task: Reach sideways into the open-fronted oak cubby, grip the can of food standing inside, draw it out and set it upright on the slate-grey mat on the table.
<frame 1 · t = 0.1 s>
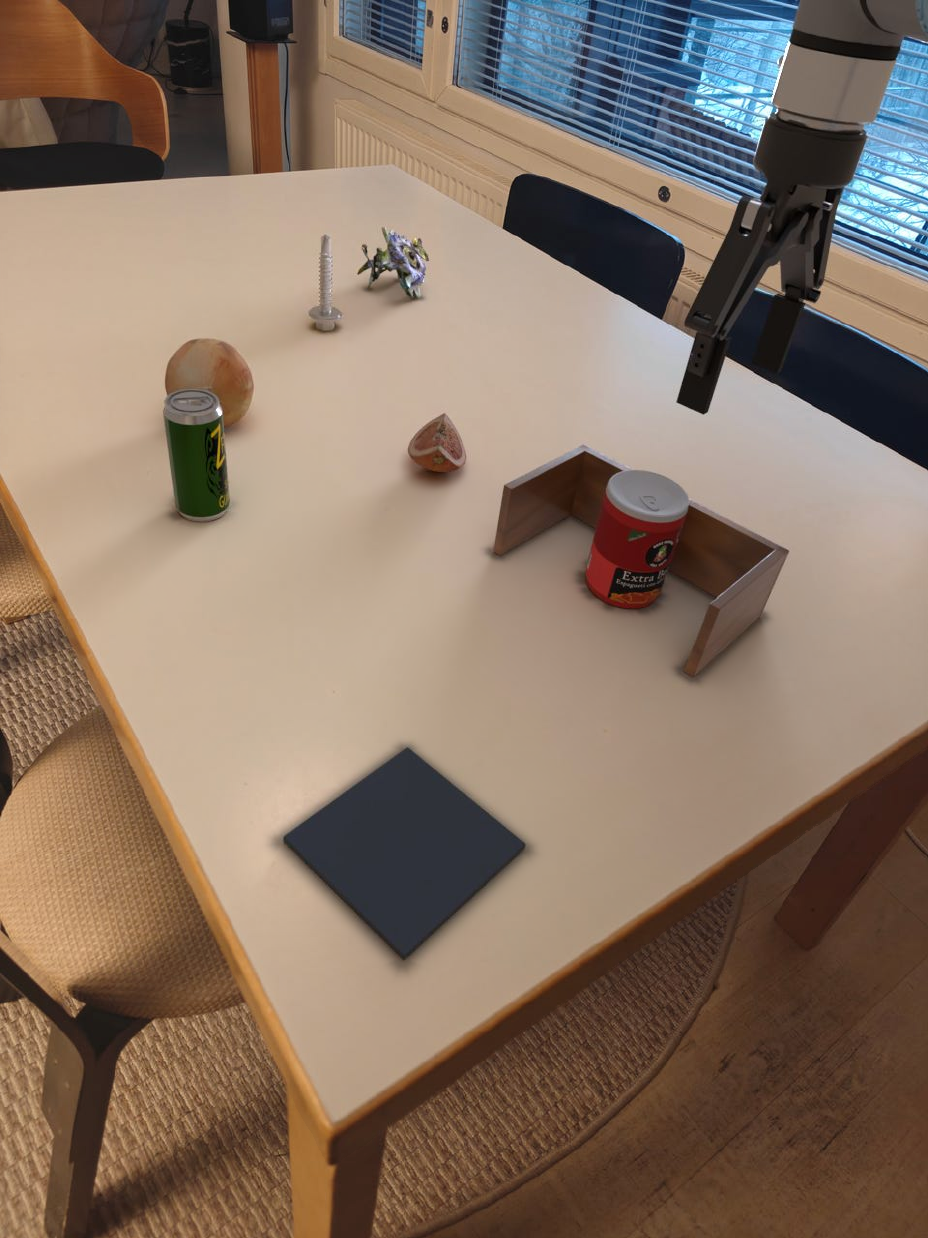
hand: (730, 386, 77), 20 cm above the table, tool pointing down, fingers open, 13 cm apart
fruit slice: (435, 469, 99), on the table
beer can: (203, 509, 88), on the table
screw: (325, 328, 125), on the table
mat: (405, 845, 60), on the table
onion: (213, 424, 101), on the table
cubby: (621, 585, 86), on the table
canned food: (621, 586, 86), on the table
passion flower: (391, 293, 138), on the table
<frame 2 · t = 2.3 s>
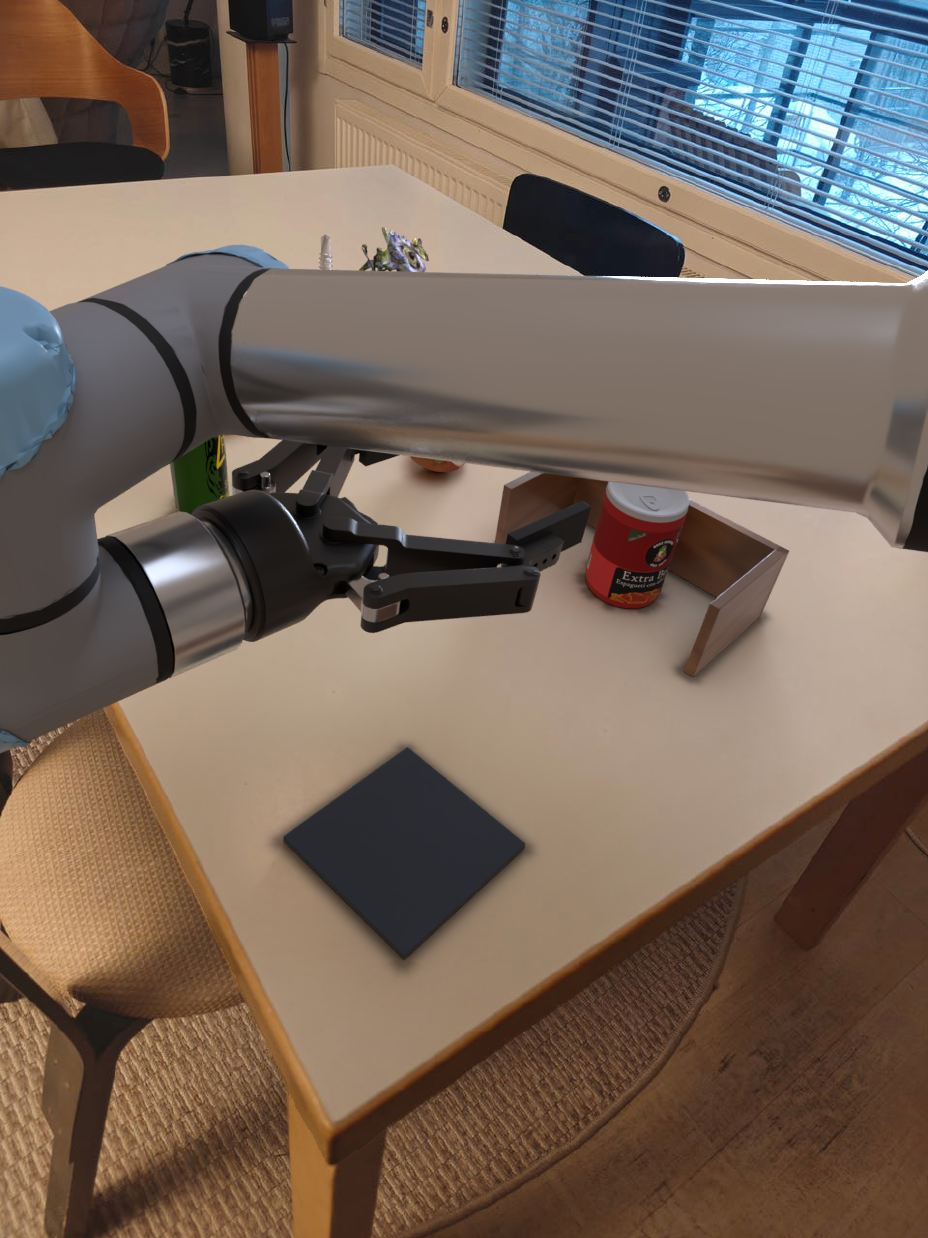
hand: (506, 469, 56), 23 cm above the table, tool horizontal, fingers open, 13 cm apart
nothing on the table moved.
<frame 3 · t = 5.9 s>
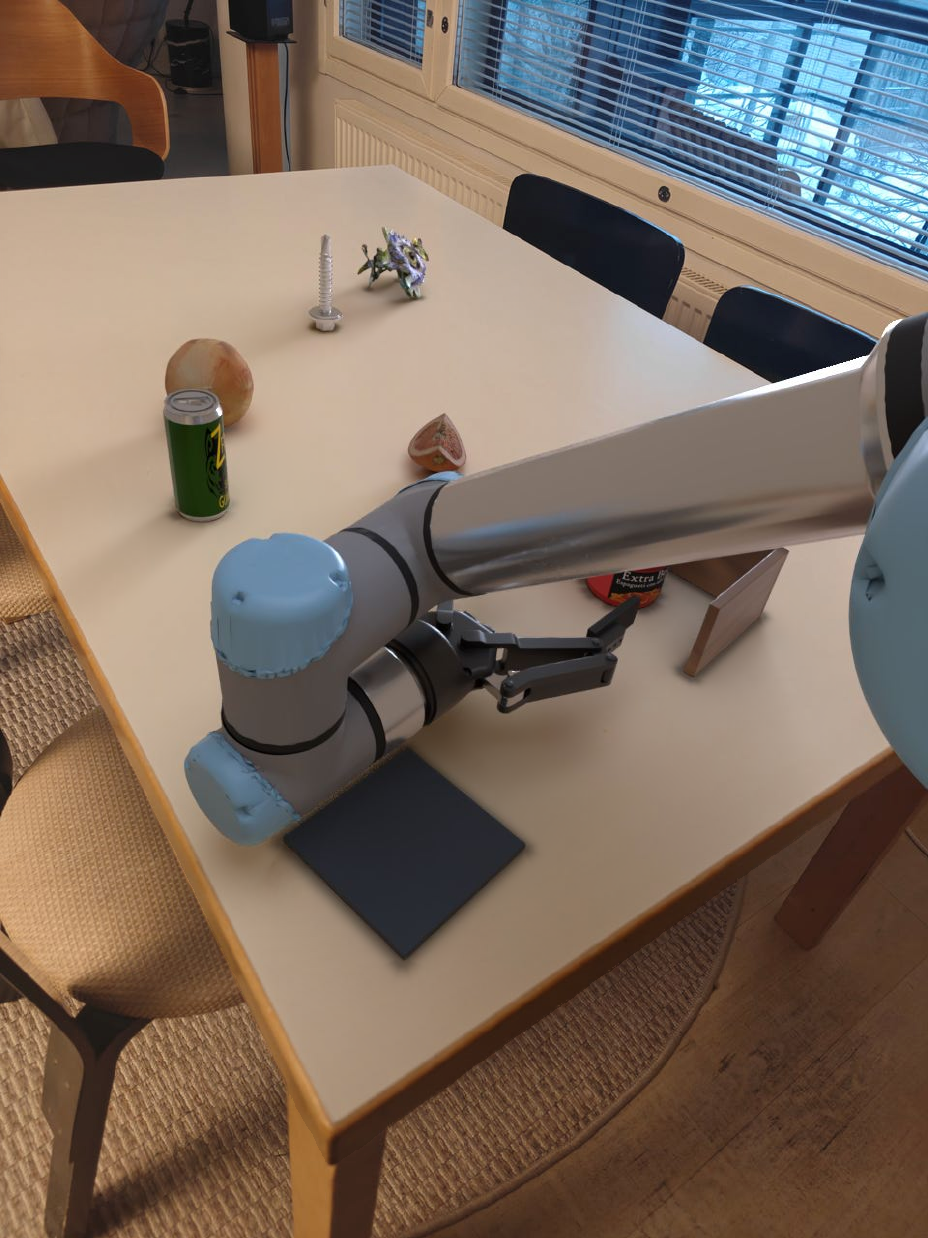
hand: (569, 569, 75), 7 cm above the table, tool horizontal, fingers open, 13 cm apart
nothing on the table moved.
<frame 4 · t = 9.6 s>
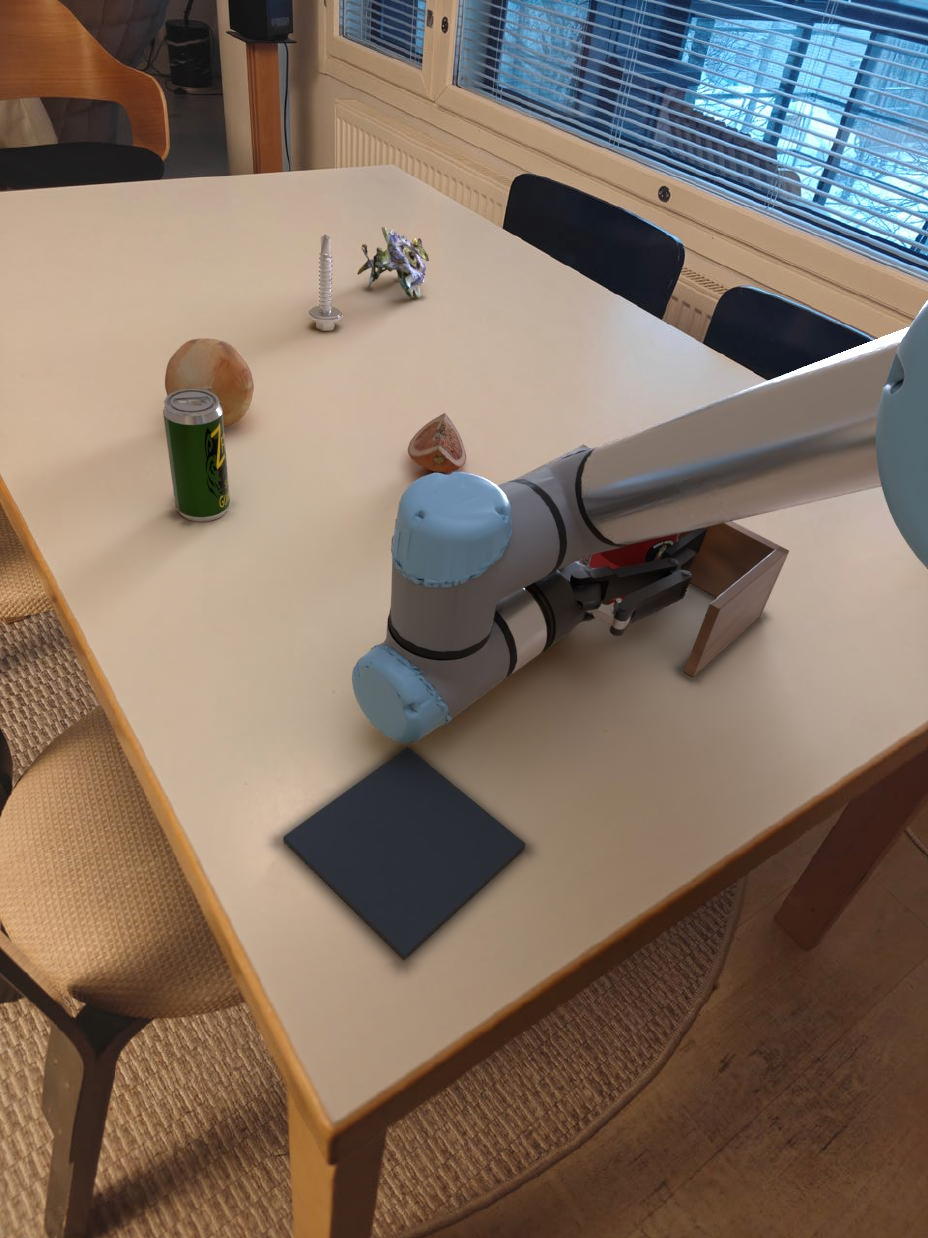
hand: (662, 518, 85), 6 cm above the table, tool horizontal, fingers closed on canned food, 8 cm apart
canned food: (621, 586, 86), on the table, touching gripper
everything else where it was.
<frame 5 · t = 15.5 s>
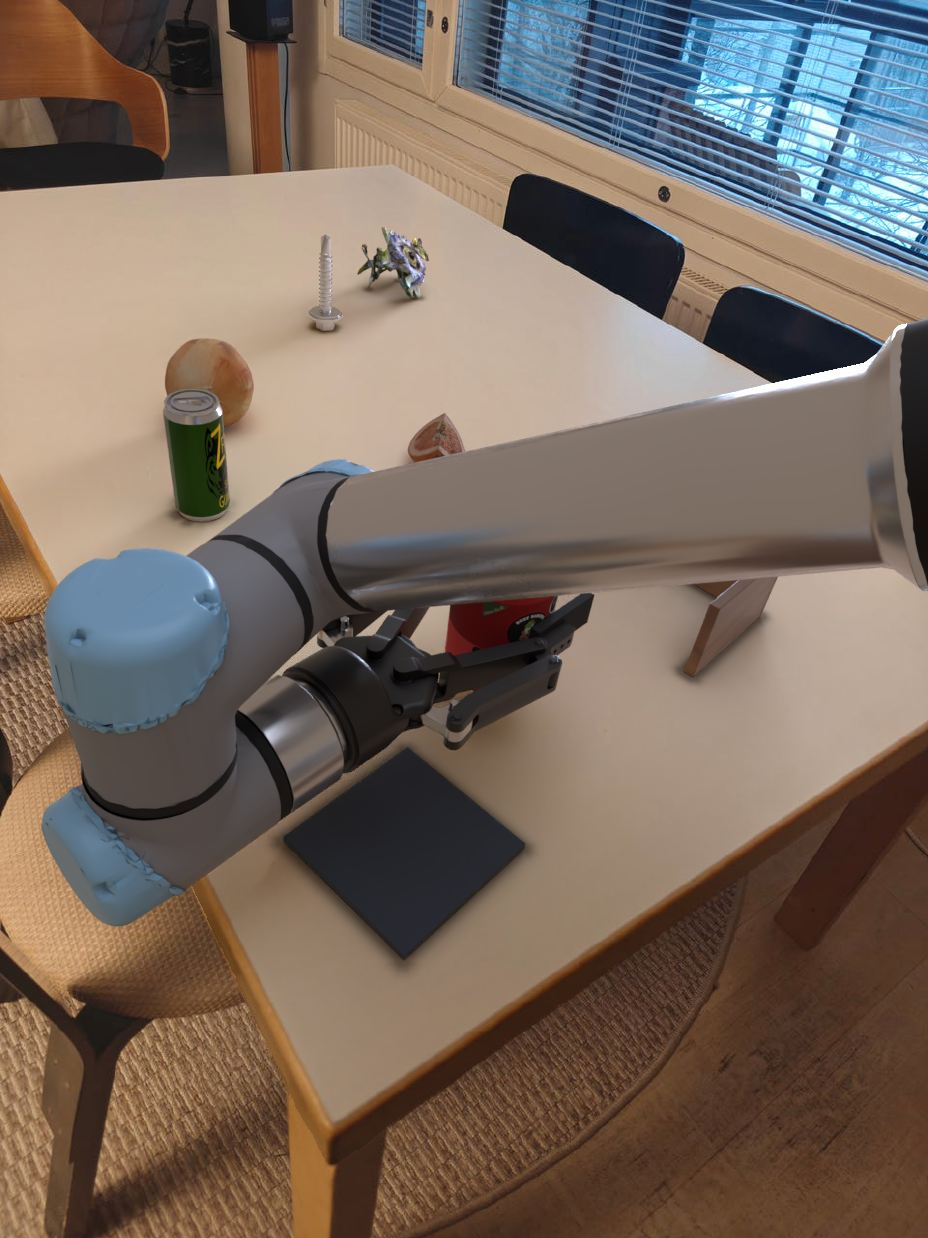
hand: (542, 578, 66), 11 cm above the table, tool horizontal, fingers closed on canned food, 8 cm apart
canned food: (491, 664, 67), point 5 cm above the table, touching gripper
everything else where it was.
when the fingers open (7 cm above the table, at t = 21.7 s): canned food stays where it is, resting on mat.
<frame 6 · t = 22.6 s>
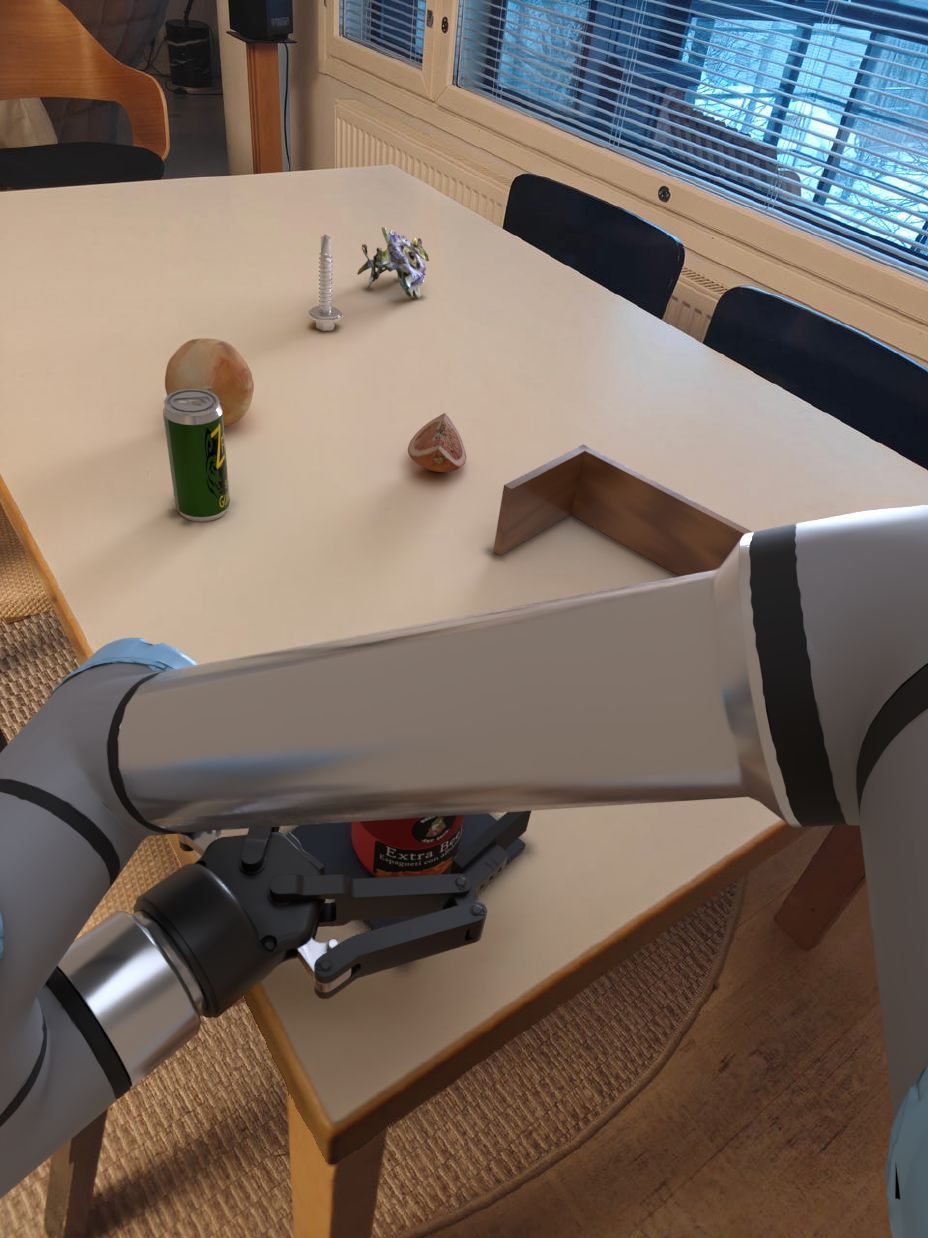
hand: (447, 752, 57), 7 cm above the table, tool horizontal, fingers open, 13 cm apart
canned food: (405, 841, 60), resting on mat
everything else where it was.
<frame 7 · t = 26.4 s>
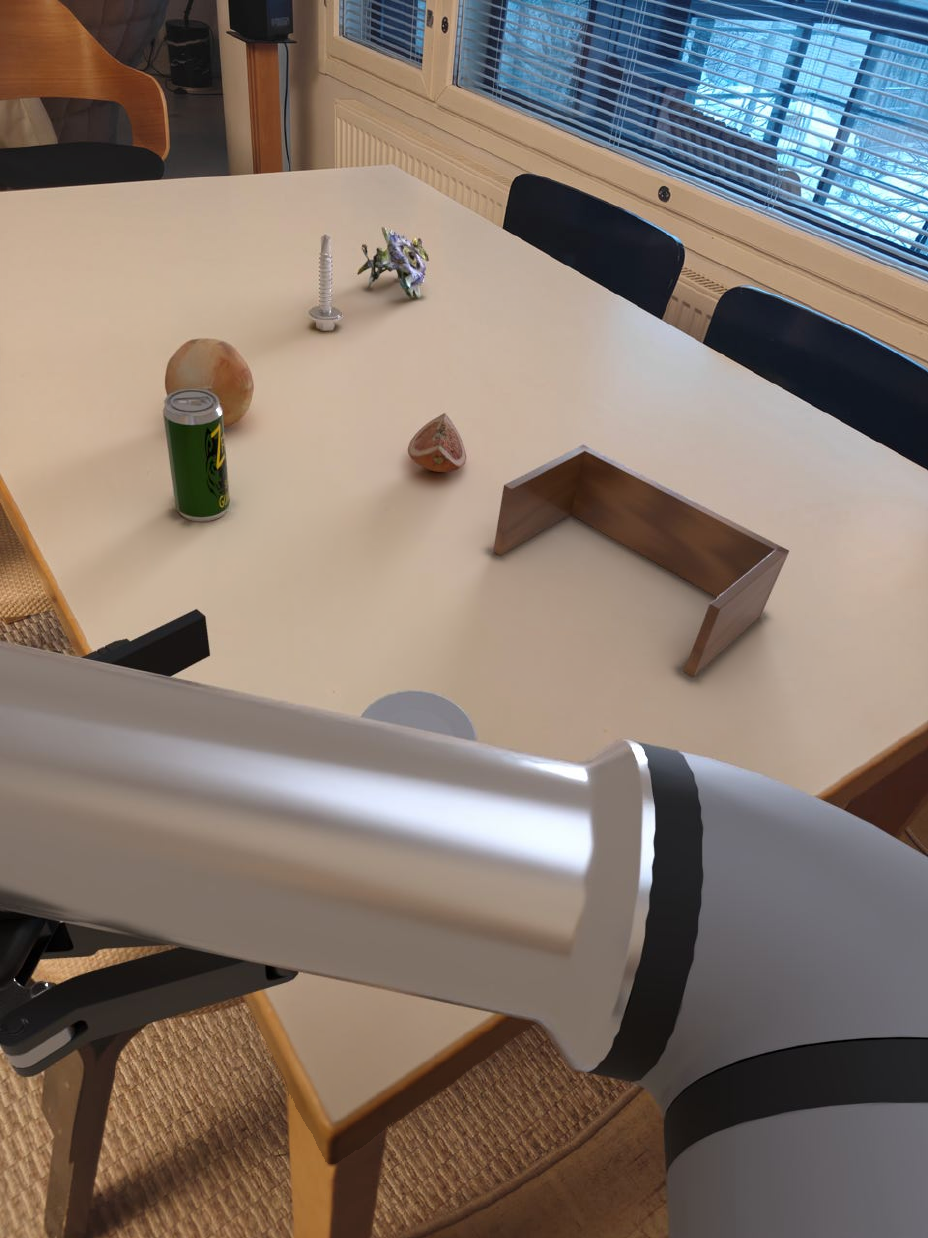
hand: (289, 705, 41), 21 cm above the table, tool horizontal, fingers open, 13 cm apart
nothing on the table moved.
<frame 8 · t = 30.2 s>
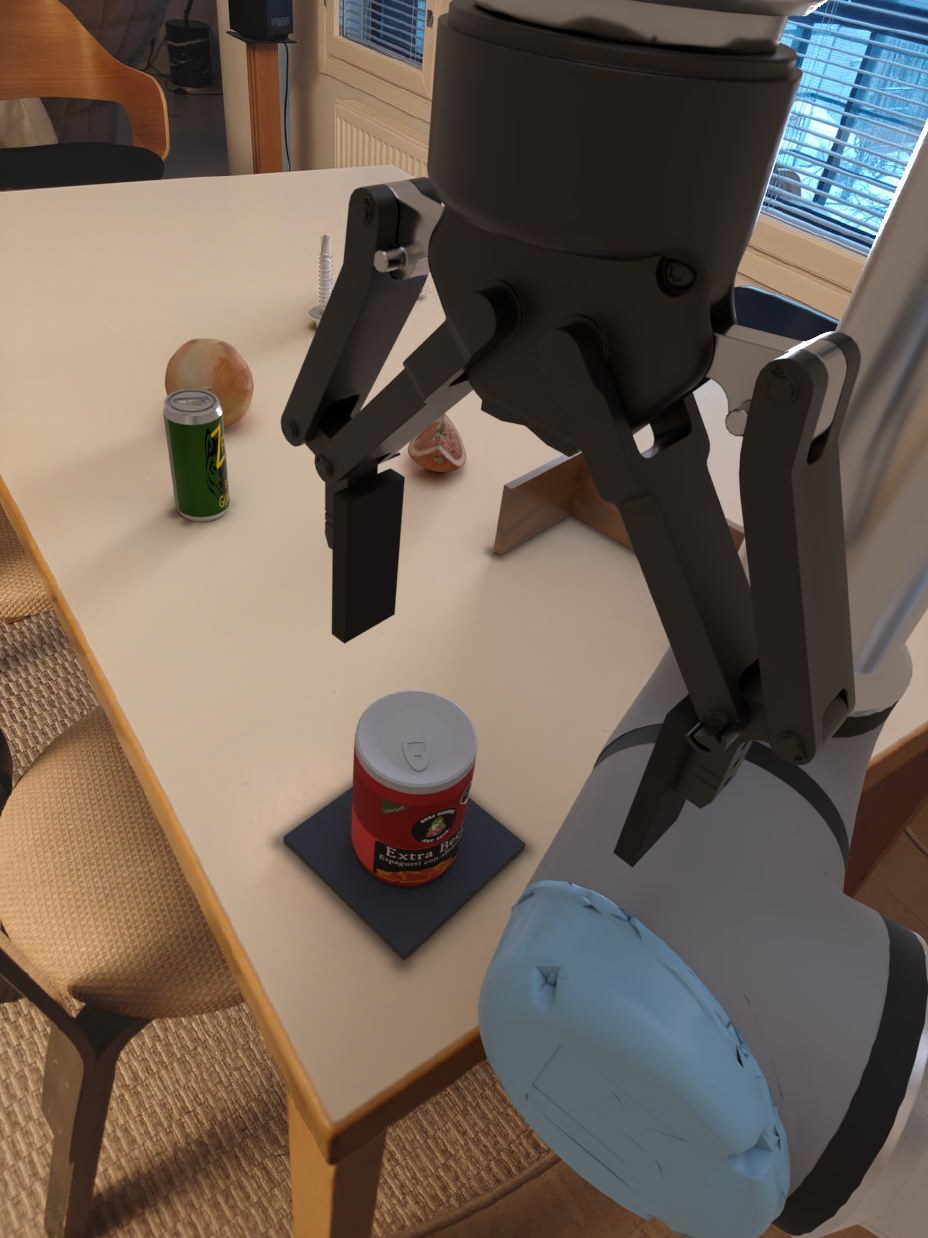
hand: (490, 720, 31), 29 cm above the table, tool pointing down, fingers open, 13 cm apart
nothing on the table moved.
at the end: canned food inside the target area on the mat (0.0 cm from its centre), point 0.4 cm above the mat's base; canned food tilted 0°; the gripper is holding nothing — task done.
